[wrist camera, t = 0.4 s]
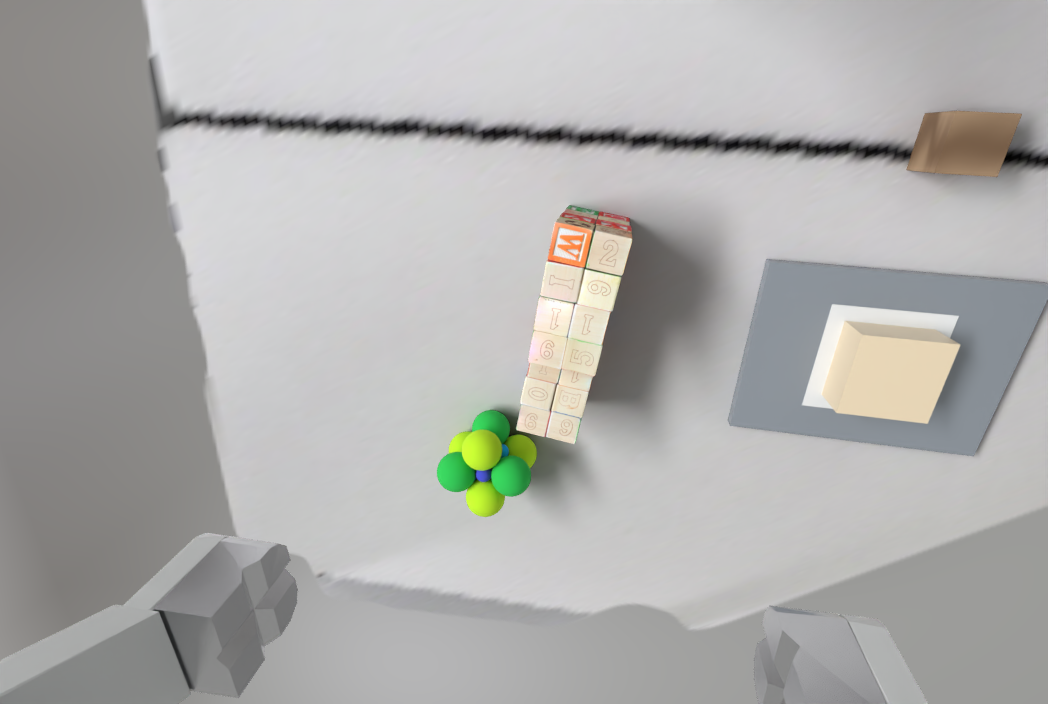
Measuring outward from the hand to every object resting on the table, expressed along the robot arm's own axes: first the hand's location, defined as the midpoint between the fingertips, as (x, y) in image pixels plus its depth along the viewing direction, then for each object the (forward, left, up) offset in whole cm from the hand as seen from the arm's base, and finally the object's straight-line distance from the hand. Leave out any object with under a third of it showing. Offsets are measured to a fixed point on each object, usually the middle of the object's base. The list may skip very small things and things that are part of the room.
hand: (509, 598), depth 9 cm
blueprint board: (+12, +28, -46) cm, 55 cm away
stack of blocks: (+10, -1, -47) cm, 48 cm away
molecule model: (+28, -10, -46) cm, 55 cm away
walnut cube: (-8, +28, -46) cm, 55 cm away
